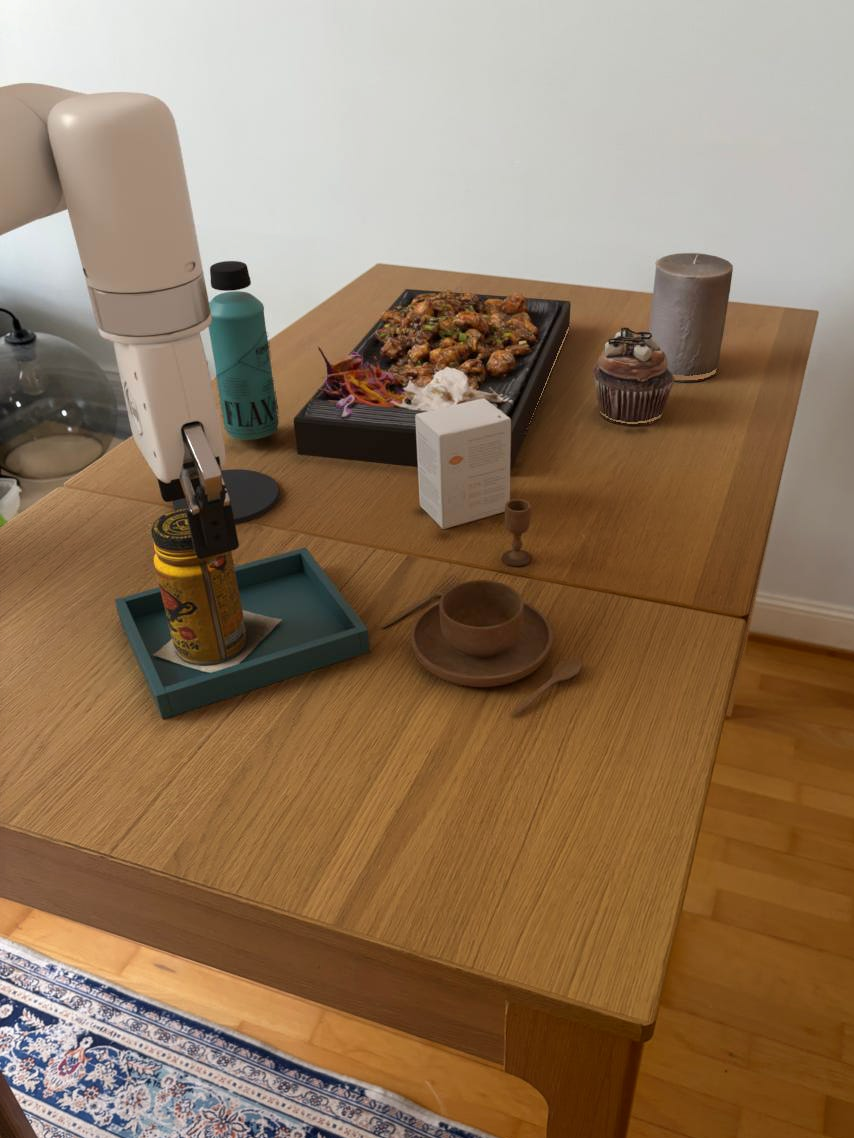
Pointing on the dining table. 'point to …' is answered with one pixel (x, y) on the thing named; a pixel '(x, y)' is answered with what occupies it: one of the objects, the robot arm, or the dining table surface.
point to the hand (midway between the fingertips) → (199, 523)
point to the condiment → (202, 602)
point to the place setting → (487, 627)
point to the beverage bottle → (241, 355)
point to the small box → (463, 462)
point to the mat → (245, 494)
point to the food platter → (433, 372)
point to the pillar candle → (690, 311)
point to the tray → (295, 645)
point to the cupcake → (632, 378)
